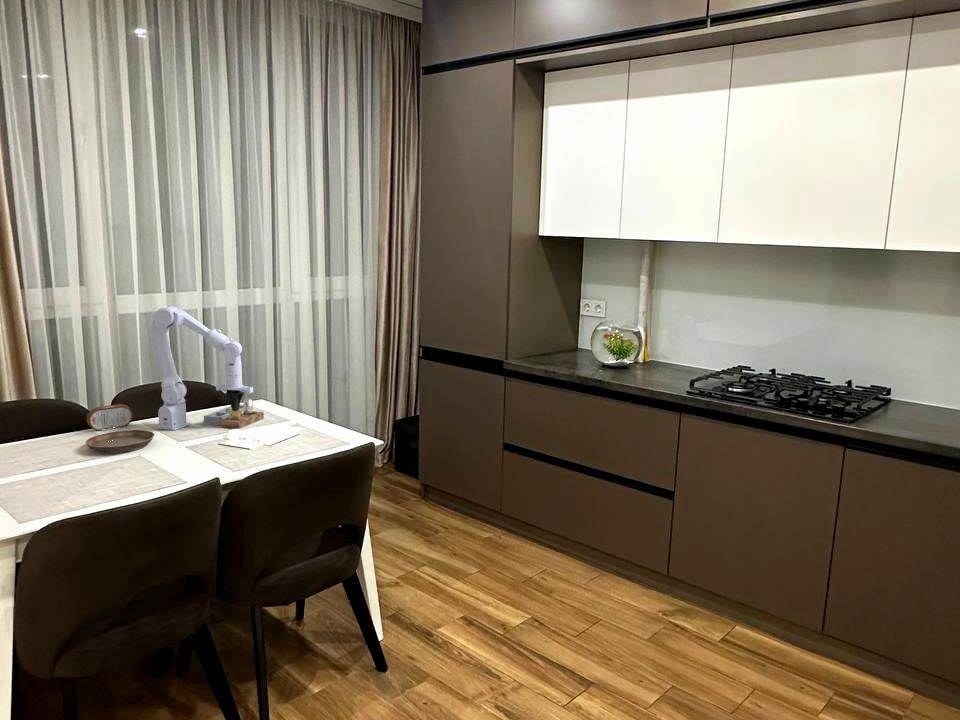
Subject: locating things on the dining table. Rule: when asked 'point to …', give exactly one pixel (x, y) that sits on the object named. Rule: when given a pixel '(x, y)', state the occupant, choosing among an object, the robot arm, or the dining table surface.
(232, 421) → the drill block
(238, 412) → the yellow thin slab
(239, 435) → the white book
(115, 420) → the tin
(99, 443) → the plant saucer
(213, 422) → the rack
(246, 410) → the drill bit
